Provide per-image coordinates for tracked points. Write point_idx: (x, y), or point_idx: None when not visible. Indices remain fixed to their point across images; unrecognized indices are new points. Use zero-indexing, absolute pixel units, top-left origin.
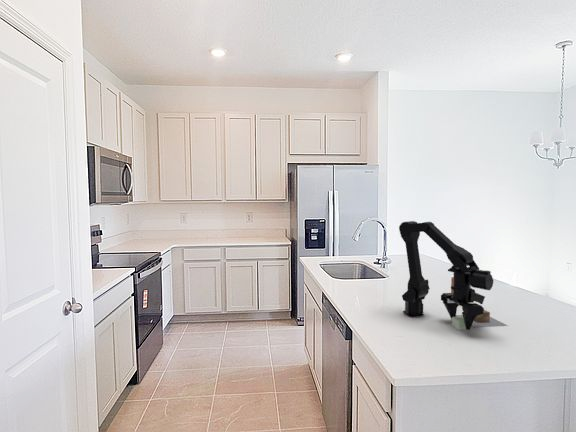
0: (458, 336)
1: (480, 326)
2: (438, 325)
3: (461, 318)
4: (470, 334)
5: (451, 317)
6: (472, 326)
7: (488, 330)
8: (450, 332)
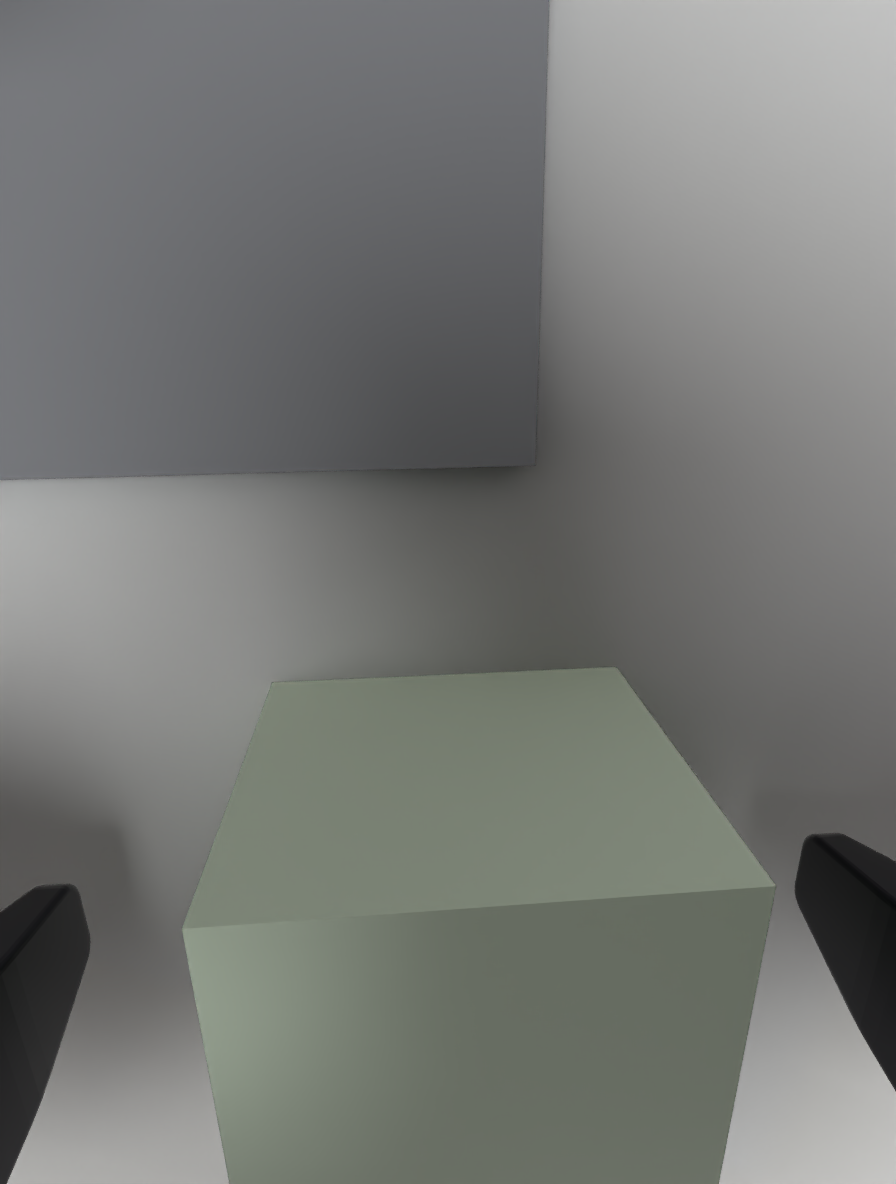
0: (848, 1042)
1: (465, 150)
2: (202, 1151)
3: (482, 1089)
4: (847, 787)
5: (36, 1110)
6: (421, 464)
7: (769, 40)
8: None
